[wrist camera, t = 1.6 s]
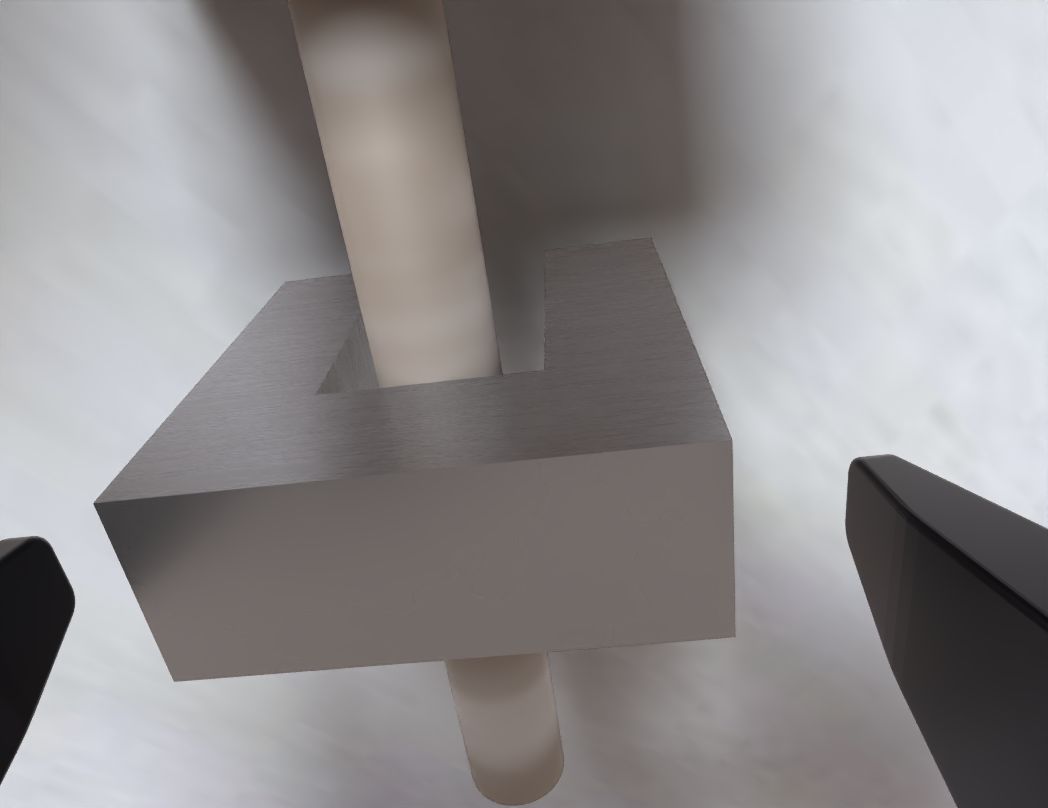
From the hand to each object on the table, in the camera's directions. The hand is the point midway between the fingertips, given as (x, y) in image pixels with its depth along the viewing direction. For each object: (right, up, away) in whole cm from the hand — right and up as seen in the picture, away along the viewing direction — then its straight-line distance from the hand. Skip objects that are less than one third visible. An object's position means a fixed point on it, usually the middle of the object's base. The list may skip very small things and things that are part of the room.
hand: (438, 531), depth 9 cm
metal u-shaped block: (0, +3, +6) cm, 6 cm away
